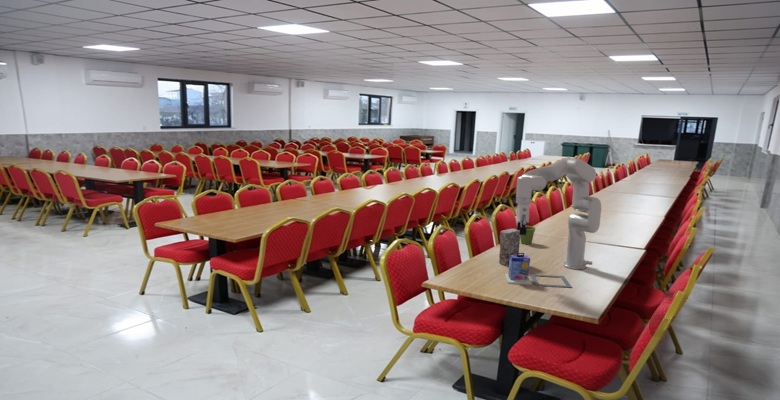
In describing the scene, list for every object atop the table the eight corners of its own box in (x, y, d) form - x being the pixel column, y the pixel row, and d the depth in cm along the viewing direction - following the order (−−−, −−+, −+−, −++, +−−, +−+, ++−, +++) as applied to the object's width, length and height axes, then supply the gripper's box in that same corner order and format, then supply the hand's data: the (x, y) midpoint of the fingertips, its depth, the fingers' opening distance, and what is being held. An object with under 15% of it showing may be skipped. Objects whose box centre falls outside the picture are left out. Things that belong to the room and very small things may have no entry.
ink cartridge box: (510, 279, 251) (512, 253, 248) (507, 276, 256) (509, 250, 254) (529, 280, 251) (531, 253, 248) (525, 276, 256) (527, 250, 254)
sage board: (527, 276, 260) (527, 274, 260) (531, 284, 246) (531, 283, 246) (504, 274, 261) (504, 273, 261) (507, 283, 247) (508, 281, 247)
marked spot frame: (563, 276, 260) (563, 276, 260) (572, 287, 243) (572, 287, 243) (529, 274, 262) (530, 274, 262) (535, 285, 245) (535, 285, 245)
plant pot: (520, 240, 339) (521, 224, 337) (537, 243, 332) (538, 227, 330) (514, 243, 330) (515, 227, 328) (531, 246, 323) (532, 230, 321)
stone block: (507, 266, 277) (510, 232, 274) (497, 263, 282) (499, 230, 278) (519, 261, 286) (521, 229, 283) (509, 259, 291) (511, 227, 288)
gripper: (533, 203, 238) (531, 236, 240) (528, 197, 254) (526, 229, 257) (518, 202, 238) (516, 236, 241) (513, 197, 255) (511, 228, 258)
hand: (521, 232), depth 249 cm, fingers open, 9 cm apart
